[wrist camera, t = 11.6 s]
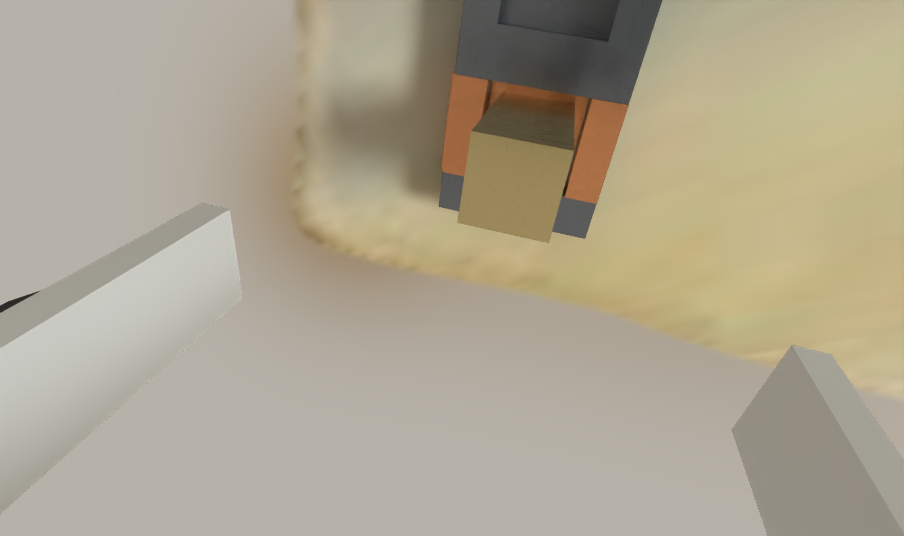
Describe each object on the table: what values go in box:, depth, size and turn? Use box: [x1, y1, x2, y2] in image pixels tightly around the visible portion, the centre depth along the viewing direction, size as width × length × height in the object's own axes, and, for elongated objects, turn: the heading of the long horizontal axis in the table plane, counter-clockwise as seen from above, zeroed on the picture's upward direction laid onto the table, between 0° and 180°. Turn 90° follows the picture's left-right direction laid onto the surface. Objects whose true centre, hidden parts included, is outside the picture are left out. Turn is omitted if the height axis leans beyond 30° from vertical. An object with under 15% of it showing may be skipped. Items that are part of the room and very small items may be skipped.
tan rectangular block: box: [458, 91, 575, 243], centre depth 22 cm, size 4×4×9 cm
